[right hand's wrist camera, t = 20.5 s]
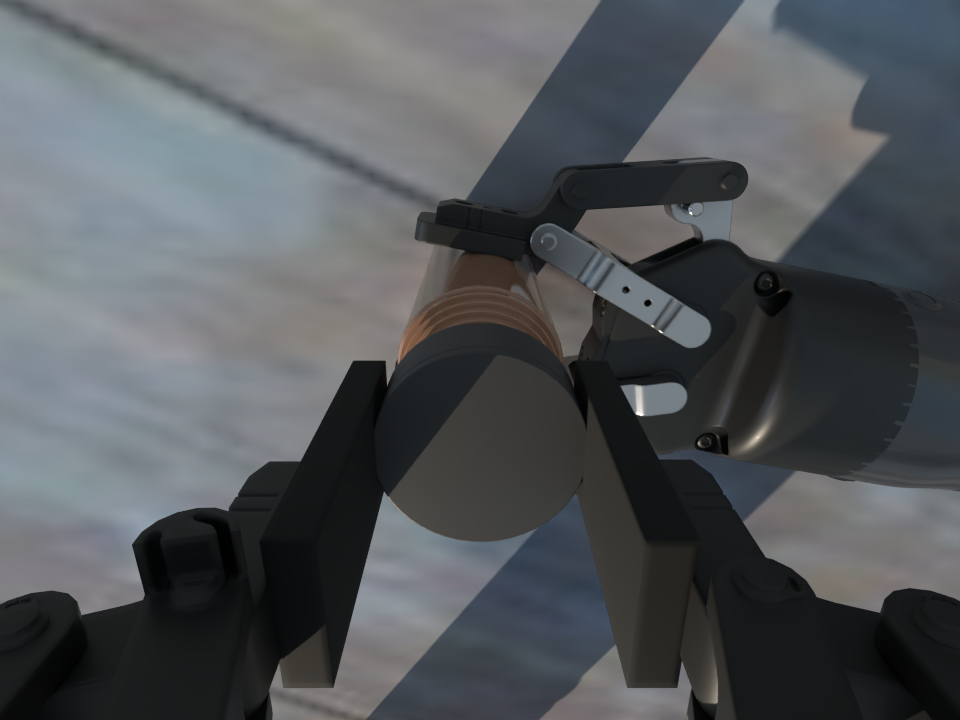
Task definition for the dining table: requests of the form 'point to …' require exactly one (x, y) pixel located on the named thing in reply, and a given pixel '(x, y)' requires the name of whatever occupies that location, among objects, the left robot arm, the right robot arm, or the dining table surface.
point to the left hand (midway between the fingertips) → (409, 298)
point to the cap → (480, 434)
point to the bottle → (479, 297)
